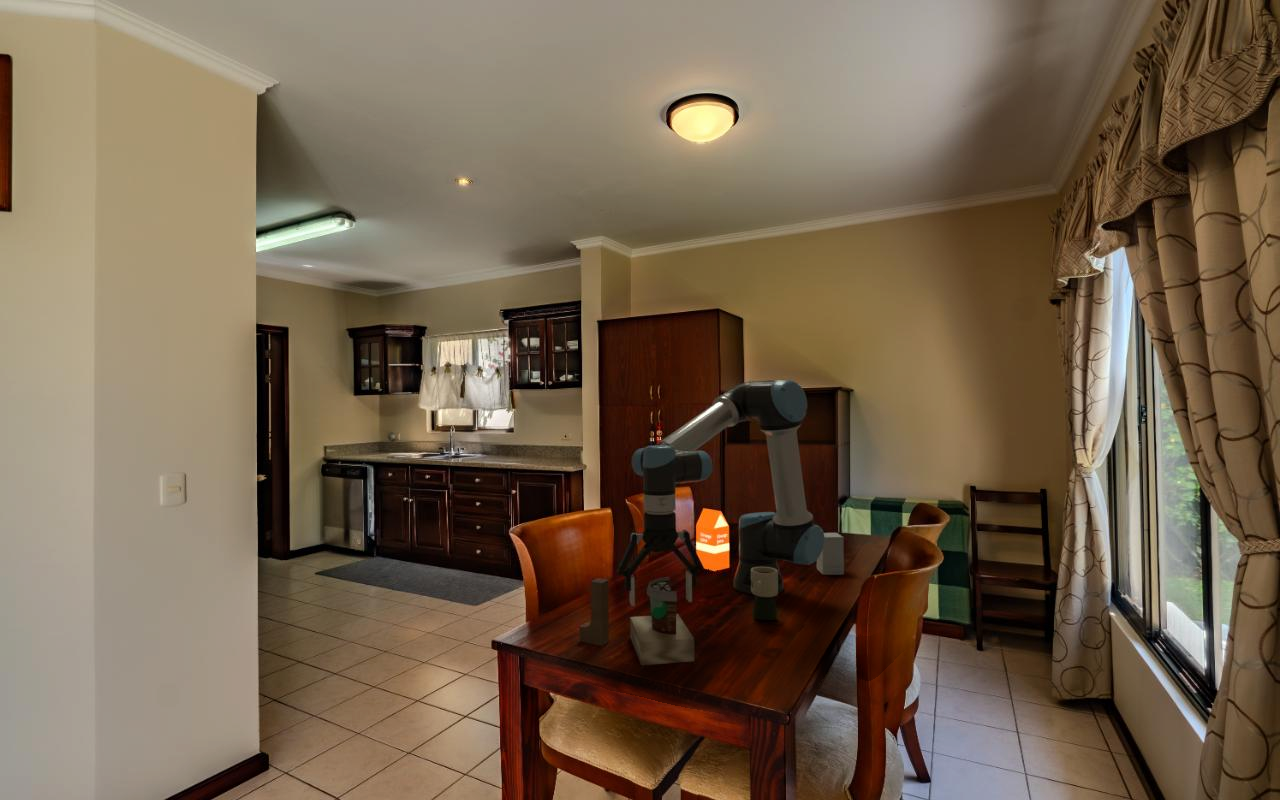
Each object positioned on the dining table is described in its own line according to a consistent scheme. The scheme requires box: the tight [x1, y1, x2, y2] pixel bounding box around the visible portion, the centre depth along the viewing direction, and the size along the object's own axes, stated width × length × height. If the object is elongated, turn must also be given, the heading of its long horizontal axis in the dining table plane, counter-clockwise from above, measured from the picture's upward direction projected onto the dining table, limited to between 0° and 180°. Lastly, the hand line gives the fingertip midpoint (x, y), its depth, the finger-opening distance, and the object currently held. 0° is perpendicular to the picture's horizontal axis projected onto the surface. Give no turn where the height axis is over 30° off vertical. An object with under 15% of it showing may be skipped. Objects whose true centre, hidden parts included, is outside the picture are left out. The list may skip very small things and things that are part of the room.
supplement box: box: [816, 532, 845, 576], centre depth 203 cm, size 7×7×13 cm
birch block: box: [629, 613, 695, 666], centre depth 141 cm, size 12×16×5 cm
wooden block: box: [578, 577, 610, 647], centre depth 145 cm, size 7×3×15 cm, turn 64°
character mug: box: [751, 567, 779, 622], centre depth 160 cm, size 11×7×13 cm, turn 151°
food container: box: [646, 576, 678, 634], centre depth 141 cm, size 12×6×10 cm, turn 5°
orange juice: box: [695, 508, 730, 572], centre depth 211 cm, size 8×9×20 cm
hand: (660, 602), depth 141 cm, fingers open, 13 cm apart
